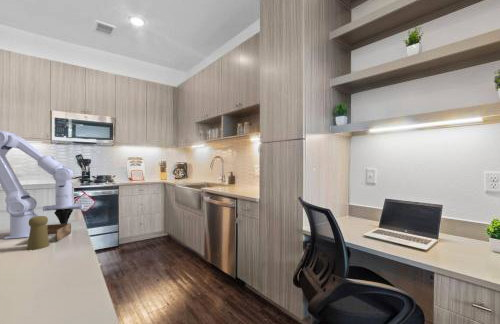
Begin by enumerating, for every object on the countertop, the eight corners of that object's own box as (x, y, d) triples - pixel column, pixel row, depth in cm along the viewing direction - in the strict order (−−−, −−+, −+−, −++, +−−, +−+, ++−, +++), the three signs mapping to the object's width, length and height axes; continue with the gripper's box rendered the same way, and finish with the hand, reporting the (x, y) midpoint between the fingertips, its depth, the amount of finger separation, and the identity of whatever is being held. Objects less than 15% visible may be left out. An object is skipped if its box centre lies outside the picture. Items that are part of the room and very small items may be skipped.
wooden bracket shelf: (46, 235, 98) (46, 224, 98) (71, 233, 100) (71, 223, 100) (29, 244, 87) (29, 232, 87) (57, 241, 89) (57, 230, 89)
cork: (36, 250, 81) (35, 218, 81) (22, 249, 82) (22, 218, 82) (53, 244, 87) (53, 215, 87) (40, 243, 88) (40, 214, 88)
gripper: (86, 193, 109) (86, 222, 109) (49, 194, 105) (49, 225, 105) (79, 195, 102) (80, 226, 102) (39, 197, 98) (40, 229, 98)
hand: (64, 226), depth 103 cm, fingers closed
